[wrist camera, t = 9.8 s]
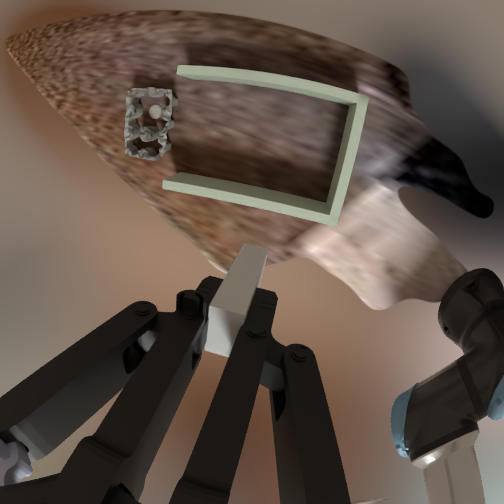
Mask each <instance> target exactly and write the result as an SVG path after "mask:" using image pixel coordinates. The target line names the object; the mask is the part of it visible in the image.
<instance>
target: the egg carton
mask: <svg viewBox="0 0 504 504" xmlns="http://www.w3.org/2000/svg"><path fill="white" fill-rule="evenodd" d="M146 92H147V94H148V95H149V96H151V97H162V96H163V95H164V94H165V95H166V96H167V97H168V98H169V99H170V103H169V105H168V106H166V107H165V108H164V109H163V113H162V108H161V106H160V105H158V104H155V105H153V106H152V107H151V108H150V110H149V114H150V116H151V117H152V118H153V119H157V118H159V117H160V116H161V114H162V116H161V117H162V118H163V120H166V121H168V122H167V123H166V126H167V128H166V127H164V129H163V130H161V131H159V130H158V128H157V127H156V126H144V127H139V126H138V125H137V121H136V119H137V118H138V117H140V116H141V115H142V113H143V106H142V105H141V104H139V99H140V97H141V96H143V95H144V94H145V93H146ZM177 104H178V99H177V98H175V97H174V96H173V94H172V90H170V89H165V90H164V89H156V88H154V87H147V88H144V89H141V88H130V89H128V94H127V97H126V109H127V112H126V116H125V120H126V122H125V130H124V137H125V146H126V149H125V155H127V156H133V157H138V158H143V159H147V160H153V161H159V159H160V157H162V156H163V154H164V152H165V151H168V150H171V143H169V142H168V141H167V136H166V133H167V131H168V130H169V129H170V128H174V123H175V121H173V120H171V119H170V118H171V114H172V107H173V106H177ZM139 135H140V138H141V140H142V141H144V142H149V141H153V140H156V139H158V142H159V143H160V144H161V145H162V147H161V148H160V149H159V152H160V153H159V154H158V155H157V153H156V150H155V149H154V148H152V147H148V148H144V149H141V150H139V151H138V148H137V147H136V146H135V145H134V139H135V138H137V137H138V136H139Z"/></svg>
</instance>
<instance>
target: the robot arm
mask: <svg viewBox="0 0 504 504" xmlns="http://www.w3.org/2000/svg"><path fill="white" fill-rule="evenodd" d="M268 250H269V249H267V248H263V247H259V246H255V245H251V244H247V243H244V245H243V246H242V248H241V250H240V252H239V253H238V255H237V257H236V259H235V261H234V262H233V264H232V266H231V268H230V269H229V271H228V273H227V275H226V277H225V278H224V279H220V278H216V277H212V276H209V277H207V278H205V279H203V280H202V282H201V283H200V285H199V286H198V288H197V289H196V290H184V291H181V292H179V293H178V294H177V301H176V311H175V312H158V311H157V308H156V306H155V305H154V304H152V303H150V302H148V301H138V302H135V303H133V304H131V305H130V306H128V307H127V308H125V309H124V310H122V311H121V312H119V313H118V314H116V315H115V316H113V317H112V318H110V319H109V320H108V321H106V322H105V323H103V324H102V325H100V326H99V327H97V328H96V329H95V330H93V331H92V332H90V333H89V334H88V335H86V336H85V337H83V338H82V339H80V340H79V341H77V342H76V343H75V344H73V345H72V346H70V347H69V348H68V349H66V350H65V351H64V352H62V353H61V354H59V355H58V356H56V357H55V358H53V359H52V360H51V361H49V362H48V363H47V364H45V365H44V366H42V367H41V368H40V369H39V370H37V371H35V372H34V373H33V374H32V375H30V376H29V377H27V378H26V379H25V380H23V381H22V382H20V383H19V384H18V385H16V386H15V387H14V388H12V389H11V390H10V391H8V392H7V393H6V394H4V395H3V396H2V397H1V398H0V504H141V503H139V502H138V500H139V498H140V496H141V493H142V491H143V488H144V483H145V478H146V475H147V473H148V471H149V469H150V467H151V464H152V462H153V460H154V458H155V456H156V454H157V452H158V449H159V447H160V445H161V443H162V441H163V439H164V436H165V434H166V432H167V430H168V428H169V426H170V424H171V422H172V419H173V417H174V415H175V413H176V411H177V409H178V406H179V404H180V402H181V400H182V398H183V396H184V394H185V391H186V389H187V387H188V385H189V383H190V381H191V379H192V376H193V375H194V372H195V370H196V368H197V366H198V364H199V362H200V360H201V356H202V349H203V347H204V345H205V350H206V351H209V352H212V353H216V354H219V355H223V356H226V357H229V358H228V361H227V364H226V366H225V369H224V371H223V374H222V376H221V379H220V382H219V384H218V388H217V390H216V393H215V395H214V397H213V400H212V403H211V405H210V408H209V410H208V413H207V416H206V418H205V421H204V423H203V426H202V429H201V431H200V434H199V436H198V439H197V441H196V444H195V447H194V449H193V451H192V454H191V456H190V459H189V461H188V464H187V467H186V469H185V472H184V474H183V476H182V477H181V479H180V480H179V481H178V483H177V485H176V488H175V490H174V492H173V494H172V497H171V499H170V502H169V504H228V500H229V496H230V490H231V486H232V483H233V479H234V476H235V473H236V469H237V466H238V462H239V459H240V455H241V451H242V448H243V444H244V440H245V437H246V433H247V429H248V425H249V422H250V418H251V414H252V410H253V406H254V402H255V398H256V394H257V390H258V386H259V384H261V385H263V386H265V387H267V388H268V389H269V394H270V404H271V413H272V424H273V433H274V444H275V454H276V464H277V474H278V485H279V494H280V504H351V502H350V497H349V493H348V488H347V483H346V479H345V474H344V470H343V466H342V461H341V457H340V452H339V448H338V444H337V440H336V436H335V431H334V427H333V423H332V419H331V415H330V411H329V407H328V404H327V400H326V395H325V392H324V388H323V384H322V380H321V376H320V373H319V369H318V365H317V361H316V358H315V355H314V353H313V351H312V350H311V349H310V348H308V347H306V346H304V345H301V344H291V345H288V346H287V347H286V346H284V345H282V344H280V343H279V342H277V341H276V340H275V339H274V338H273V336H272V334H271V328H272V323H273V318H274V314H275V310H276V305H277V300H278V298H277V295H276V293H275V292H273V291H269V290H265V289H261V288H260V285H261V280H262V275H263V272H264V267H265V263H266V258H267V254H268ZM438 320H439V324H440V326H441V328H442V330H443V332H444V334H445V335H446V336H447V337H448V338H449V339H450V340H452V341H453V342H454V343H455V344H456V345H458V346H459V347H460V348H461V349H462V350H463V352H464V355H463V356H461V357H460V358H459V359H457V360H455V361H454V362H453V363H451V364H450V365H448V366H446V367H445V368H443V369H442V370H440V371H439V372H437V373H435V374H434V375H432V376H431V377H429V378H427V379H425V380H424V381H422V382H420V383H416V384H415V385H414V386H413V387H412V388H410V389H409V390H407V391H406V392H404V393H402V394H400V395H399V396H398V397H397V398H396V400H395V402H394V404H393V406H392V411H391V432H392V438H393V442H394V444H396V450H397V452H398V453H399V454H400V455H401V456H402V457H410V459H411V464H412V465H414V466H416V467H419V468H421V469H422V470H423V475H424V481H425V487H426V493H427V500H428V504H485V498H484V492H483V486H482V480H481V475H480V471H479V466H478V462H477V458H476V454H475V450H474V443H475V441H476V439H477V437H478V434H479V428H478V425H477V421H479V420H480V419H482V418H484V417H485V416H487V415H488V417H489V418H491V419H492V420H497V419H500V418H502V417H503V416H504V287H503V284H502V282H501V281H500V279H499V278H498V277H497V275H496V274H495V273H494V272H492V271H491V270H489V269H486V268H479V269H475V270H472V271H469V272H468V273H466V274H464V275H463V276H461V277H460V278H459V279H458V280H456V281H455V282H454V283H453V284H452V286H451V287H450V288H449V289H448V291H447V292H446V294H445V295H444V297H443V299H442V301H441V304H440V307H439V311H438ZM122 388H123V390H122V392H121V393H120V395H119V396H118V398H117V399H116V401H115V402H114V404H113V405H112V407H111V409H110V410H109V412H108V413H107V415H106V416H105V418H104V420H103V421H102V423H101V424H100V426H99V428H98V429H97V431H96V432H95V433H94V434H93V435H92V436H88V437H85V438H83V439H82V440H81V441H80V442H79V444H78V445H77V447H76V448H75V450H74V452H73V453H72V455H71V456H70V458H69V459H68V461H67V463H66V464H65V466H64V468H63V469H62V471H61V473H58V474H54V475H50V476H47V477H43V478H39V479H34V480H30V481H25V482H21V483H19V482H20V480H21V479H22V478H23V477H25V476H30V475H31V474H32V471H33V470H32V467H31V463H32V462H35V461H37V460H39V459H41V458H43V457H44V456H46V455H48V454H49V453H50V452H52V451H53V450H54V449H55V448H56V447H58V446H59V445H60V444H61V443H62V442H63V441H64V440H65V439H67V438H68V437H69V436H70V435H71V434H72V433H73V432H75V431H76V430H77V429H78V428H79V427H80V426H81V425H83V424H84V423H85V422H86V421H87V420H88V419H89V418H90V417H91V416H93V415H94V414H95V413H96V412H97V411H98V410H99V409H100V408H102V407H103V406H104V405H105V404H106V403H107V402H108V401H109V400H110V399H112V398H113V397H114V396H115V395H116V394H117V393H118V392H119V391H120V390H121V389H122Z"/></svg>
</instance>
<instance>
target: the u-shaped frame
mask: <svg viewBox="0 0 504 504" xmlns="http://www.w3.org/2000/svg"><path fill="white" fill-rule="evenodd" d="M177 74H178V75H181V76H184V77H187V78H190V79H197V80H211V81H223V82H232V83H241V84H249V85H256V86H262V87H268V88H274V89H280V90H285V91H290V92H295V93H300V94H305V95H309V96H314V97H318V98H322V99H326V100H330V101H333V102H337V103H341V104H344V105H348V106H349V110H348V115H347V119H346V124H345V128H344V133H343V137H342V142H341V146H340V150H339V154H338V158H337V162H336V166H335V170H334V174H333V178H332V182H331V186H330V190H329V194H328V197H327V201H326V203H325V202H321V201H317V200H313V199H309V198H305V197H301V196H297V195H292V194H288V193H284V192H279V191H275V190H271V189H266V188H261V187H257V186H252V185H247V184H242V183H237V182H232V181H227V180H222V179H217V178H211V177H206V176H200V175H195V174H189V173H183V172H179V173H177V174H175V175H172V176H170V177H168V178H166V179H164V180H163V188H162V189H167V190H172V191H178V192H183V193H188V194H194V195H199V196H204V197H209V198H214V199H219V200H223V201H228V202H233V203H238V204H242V205H247V206H252V207H256V208H261V209H265V210H269V211H274V212H278V213H282V214H287V215H291V216H295V217H299V218H303V219H308V220H312V221H316V222H320V223H324V224H328V225H331V226H335V227H336V225H337V222H338V219H339V216H340V212H341V209H342V205H343V202H344V198H345V195H346V191H347V188H348V184H349V180H350V176H351V173H352V169H353V165H354V161H355V157H356V153H357V149H358V145H359V141H360V137H361V132H362V128H363V123H364V119H365V114H366V110H367V105H368V100H369V97H368V96H365V95H362V94H358V93H355V92H352V91H348V90H345V89H341V88H338V87H334V86H330V85H326V84H322V83H318V82H314V81H309V80H305V79H300V78H295V77H290V76H284V75H279V74H273V73H266V72H260V71H252V70H244V69H235V68H224V67H210V66H187V65H178V69H177Z"/></svg>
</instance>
